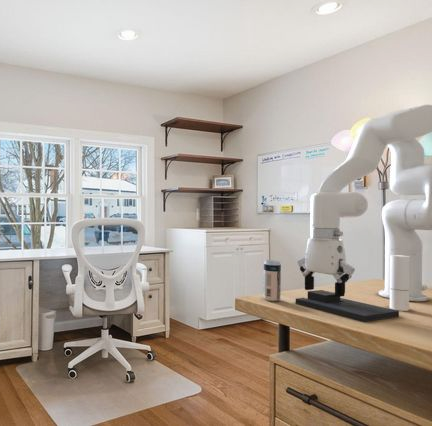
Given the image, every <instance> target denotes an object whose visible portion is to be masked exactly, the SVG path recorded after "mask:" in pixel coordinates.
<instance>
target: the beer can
mask: <svg viewBox="0 0 432 426" xmlns="http://www.w3.org/2000/svg"><path fill="white" fill-rule="evenodd" d="M281 270H282V264H281V261H280V260H277V259H276V260H275V259H266V260H264V263H263V291H262V293H263V295H262V297H263V299H264V300H266V301H268V302H278V301H280V300H281V288H282V287H281V284H282V283H281V279H282V271H281Z"/></svg>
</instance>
